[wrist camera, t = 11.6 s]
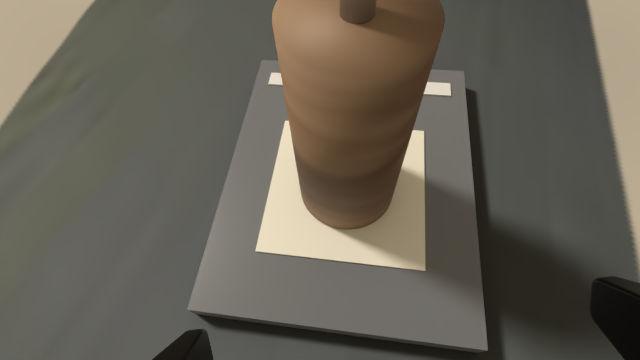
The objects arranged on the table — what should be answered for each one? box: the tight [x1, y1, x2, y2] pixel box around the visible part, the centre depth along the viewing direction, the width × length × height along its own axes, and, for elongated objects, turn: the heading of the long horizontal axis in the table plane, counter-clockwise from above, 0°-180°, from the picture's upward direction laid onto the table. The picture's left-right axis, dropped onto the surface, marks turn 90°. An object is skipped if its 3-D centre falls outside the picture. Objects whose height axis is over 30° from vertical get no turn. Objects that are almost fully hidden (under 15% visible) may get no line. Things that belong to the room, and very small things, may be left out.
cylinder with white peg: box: [272, 0, 445, 229], centre depth 13 cm, size 5×5×13 cm
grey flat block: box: [187, 60, 488, 353], centre depth 20 cm, size 16×13×1 cm
